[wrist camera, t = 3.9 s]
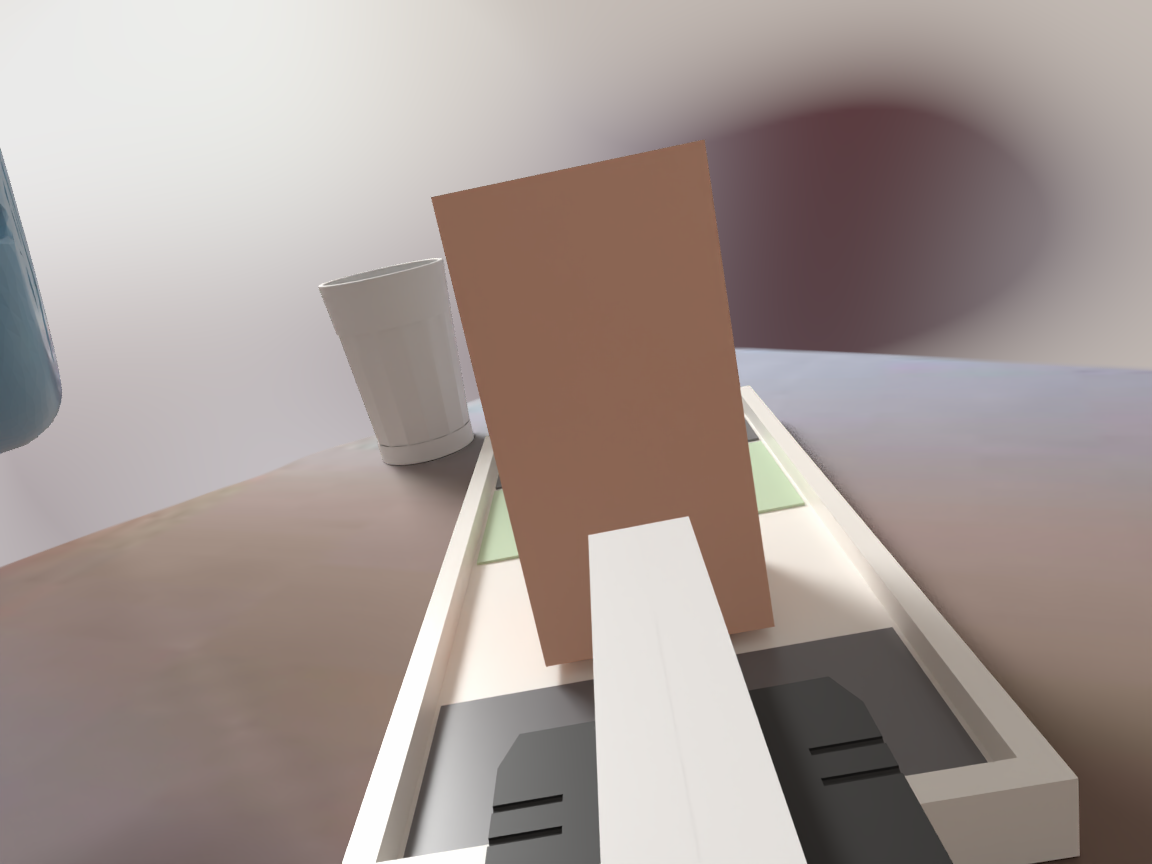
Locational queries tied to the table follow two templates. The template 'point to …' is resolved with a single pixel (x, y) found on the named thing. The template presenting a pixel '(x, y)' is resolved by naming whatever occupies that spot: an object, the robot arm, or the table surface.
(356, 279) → the cup
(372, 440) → the table surface
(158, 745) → the table surface
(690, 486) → the block
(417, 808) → the sorting tray
